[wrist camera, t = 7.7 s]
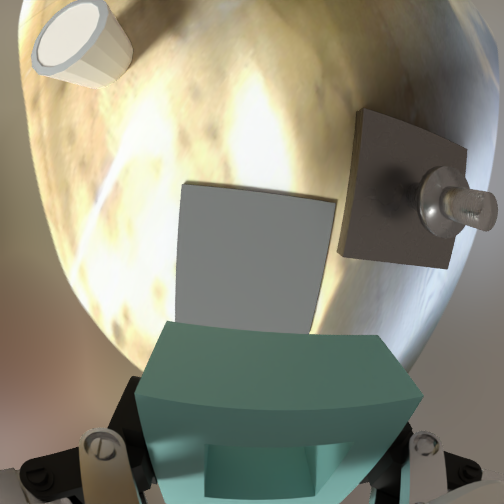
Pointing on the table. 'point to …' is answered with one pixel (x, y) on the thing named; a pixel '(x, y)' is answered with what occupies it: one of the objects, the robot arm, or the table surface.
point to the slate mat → (250, 259)
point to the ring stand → (408, 195)
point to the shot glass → (83, 46)
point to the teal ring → (269, 413)
